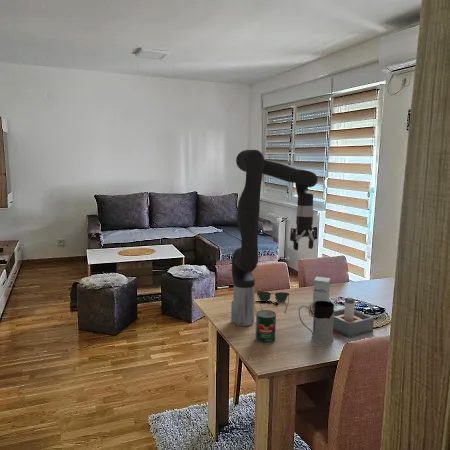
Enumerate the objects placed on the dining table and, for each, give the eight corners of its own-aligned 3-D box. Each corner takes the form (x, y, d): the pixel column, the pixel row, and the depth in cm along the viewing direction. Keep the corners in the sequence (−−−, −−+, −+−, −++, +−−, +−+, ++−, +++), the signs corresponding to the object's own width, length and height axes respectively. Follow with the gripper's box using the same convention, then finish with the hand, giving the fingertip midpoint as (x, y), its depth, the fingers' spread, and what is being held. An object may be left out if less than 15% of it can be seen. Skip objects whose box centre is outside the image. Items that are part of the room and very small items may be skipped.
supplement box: (312, 304, 203) (313, 279, 201) (314, 299, 210) (315, 276, 208) (327, 306, 200) (328, 281, 198) (329, 301, 207) (330, 277, 205)
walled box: (348, 337, 164) (349, 323, 163) (324, 325, 177) (325, 312, 176) (372, 331, 171) (373, 317, 170) (348, 319, 183) (349, 307, 182)
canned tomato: (261, 345, 157) (262, 318, 155) (252, 337, 164) (252, 311, 162) (279, 341, 160) (279, 315, 158) (269, 334, 167) (269, 308, 166)
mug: (334, 345, 158) (336, 308, 155) (297, 342, 160) (299, 306, 158) (332, 335, 166) (334, 300, 164) (297, 333, 168) (298, 298, 166)
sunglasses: (256, 312, 192) (256, 302, 191) (256, 300, 209) (256, 291, 208) (291, 314, 191) (291, 303, 190) (288, 301, 207) (289, 292, 206)
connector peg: (348, 328, 171) (349, 301, 169) (341, 325, 174) (343, 298, 173) (355, 327, 173) (356, 300, 171) (348, 323, 176) (350, 297, 174)
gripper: (297, 216, 180) (296, 252, 183) (322, 215, 187) (320, 249, 189) (287, 214, 187) (286, 249, 189) (311, 213, 193) (310, 246, 196)
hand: (303, 249), depth 189 cm, fingers open, 8 cm apart
